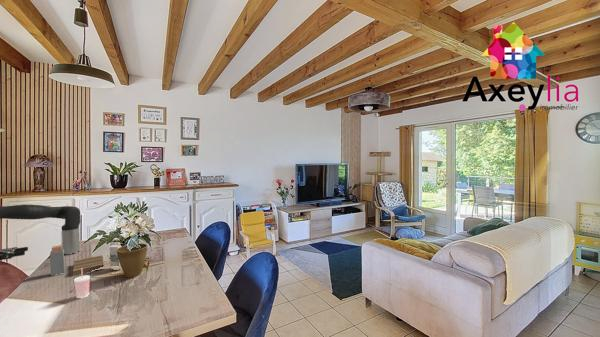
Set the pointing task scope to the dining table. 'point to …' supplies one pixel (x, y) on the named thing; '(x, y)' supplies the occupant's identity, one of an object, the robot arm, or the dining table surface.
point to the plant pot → (132, 260)
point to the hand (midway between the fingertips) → (26, 250)
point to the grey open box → (57, 262)
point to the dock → (87, 264)
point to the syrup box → (114, 255)
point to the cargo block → (57, 249)
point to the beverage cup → (82, 285)
